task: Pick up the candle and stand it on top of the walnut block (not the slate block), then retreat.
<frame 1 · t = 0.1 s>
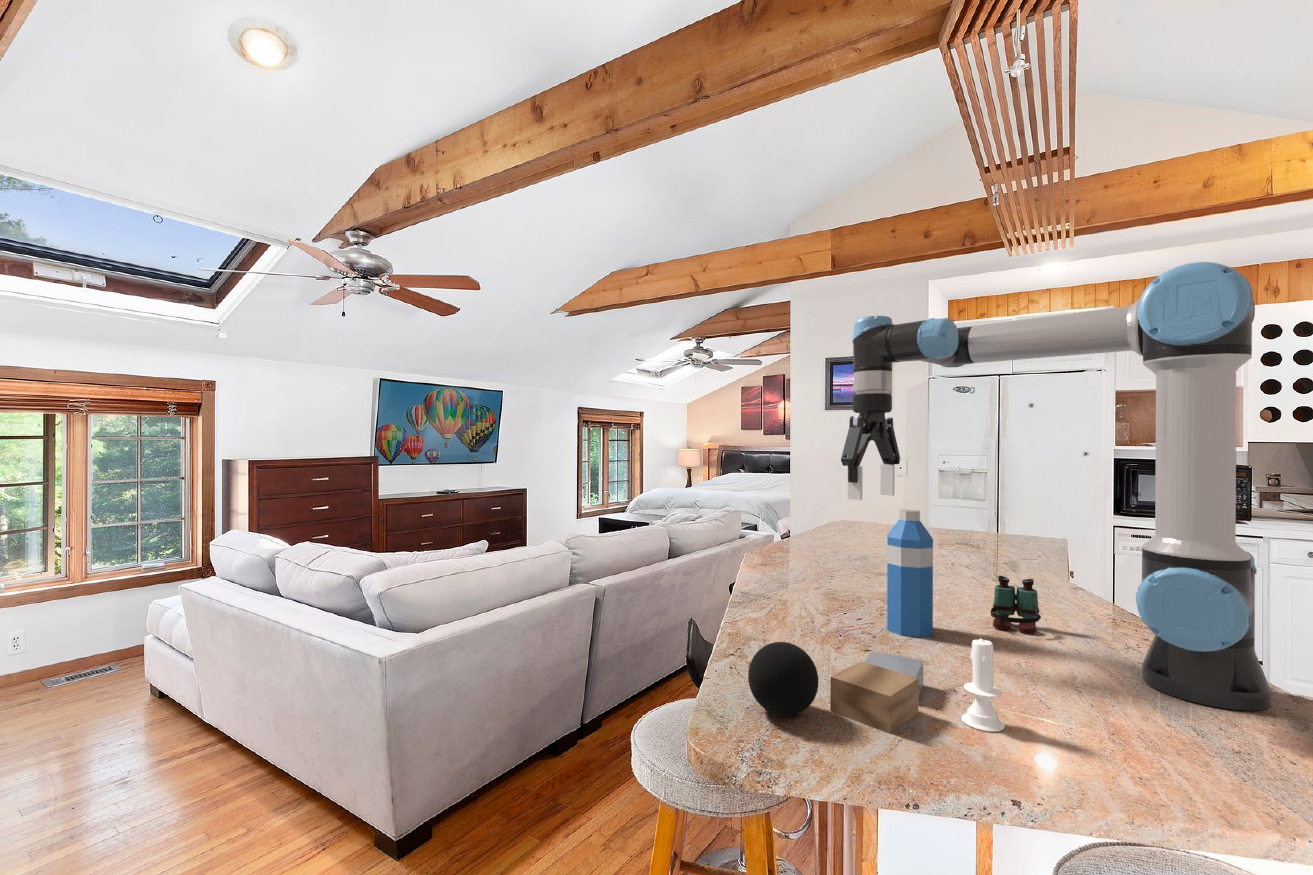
hand: (871, 497, 122), 28 cm above the countertop, fingers open, 13 cm apart
decorative ball: (782, 713, 87), on the countertop
water bottle: (909, 630, 124), on the countertop
slate block: (892, 688, 95), on the countertop
binoculars: (1015, 630, 125), on the countertop
candle: (982, 724, 84), on the countertop
walnut block: (874, 711, 87), on the countertop
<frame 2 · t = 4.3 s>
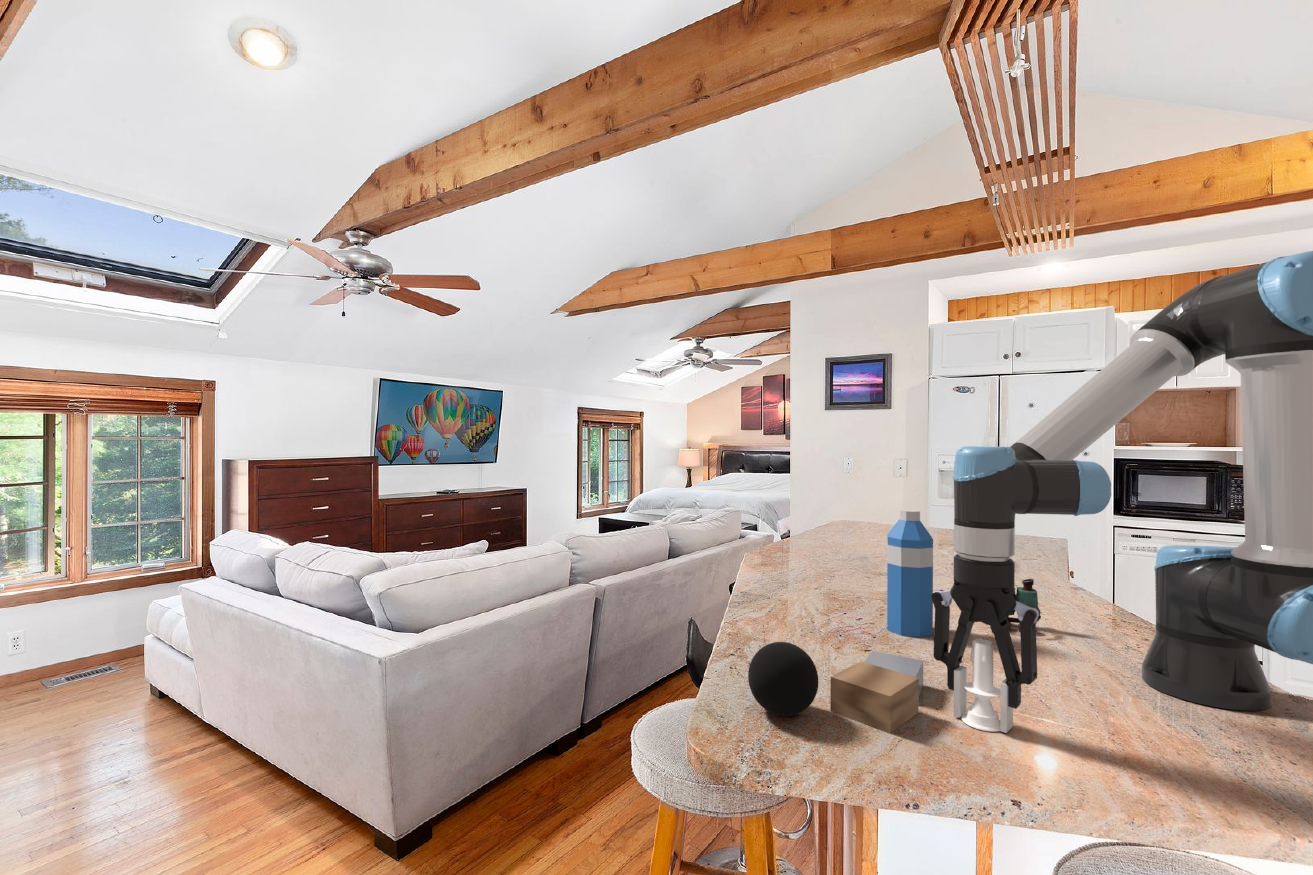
hand: (982, 720, 84), 0 cm above the countertop, fingers closed on candle, 5 cm apart
candle: (982, 724, 84), on the countertop, touching gripper
everything else where it was.
when the fingers open (6 cm above the countertop, at t = 8.4 s): candle stays where it is, resting on walnut block.
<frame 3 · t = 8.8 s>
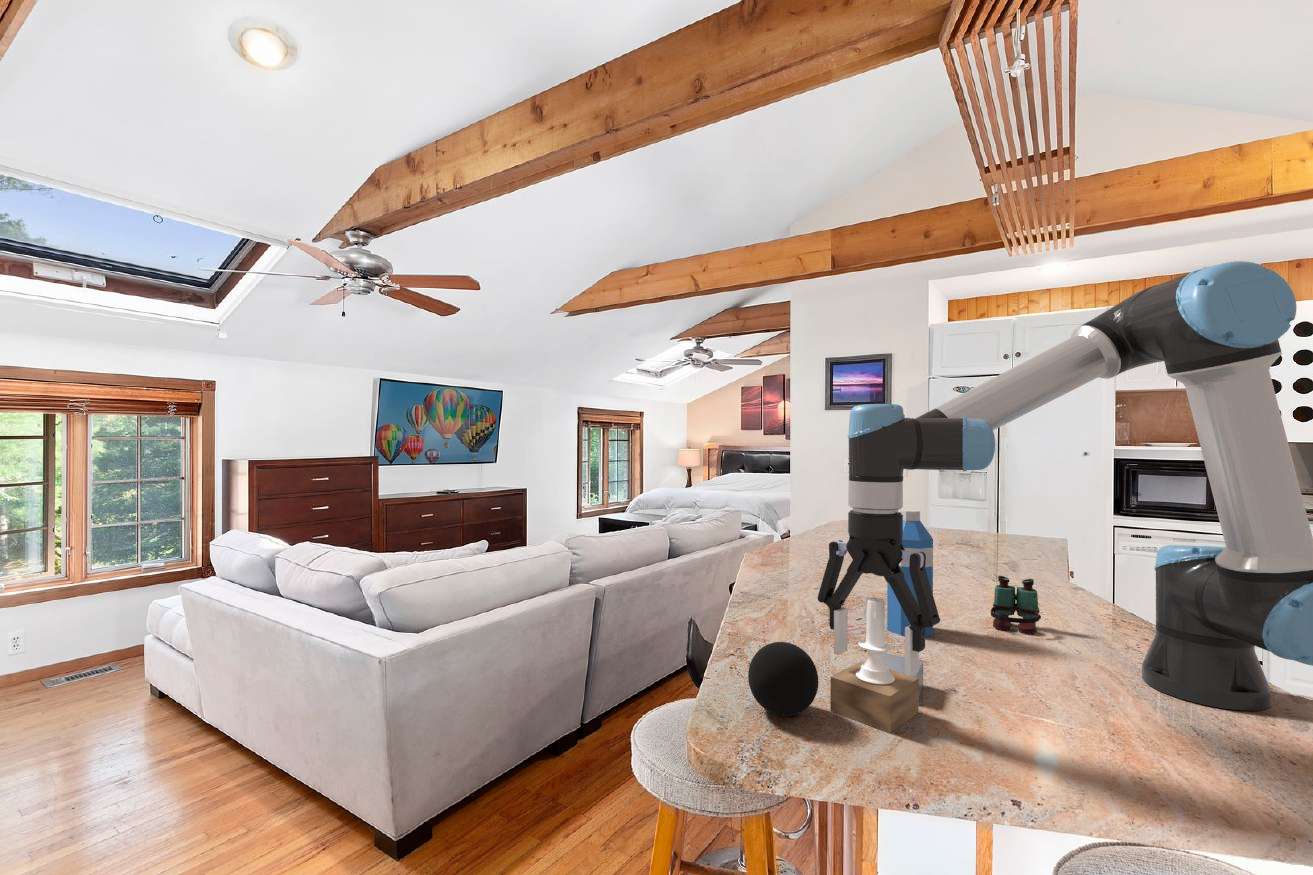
hand: (874, 661, 87), 7 cm above the countertop, fingers open, 10 cm apart
candle: (875, 678, 87), point 5 cm above the countertop, touching walnut block
everything else where it was.
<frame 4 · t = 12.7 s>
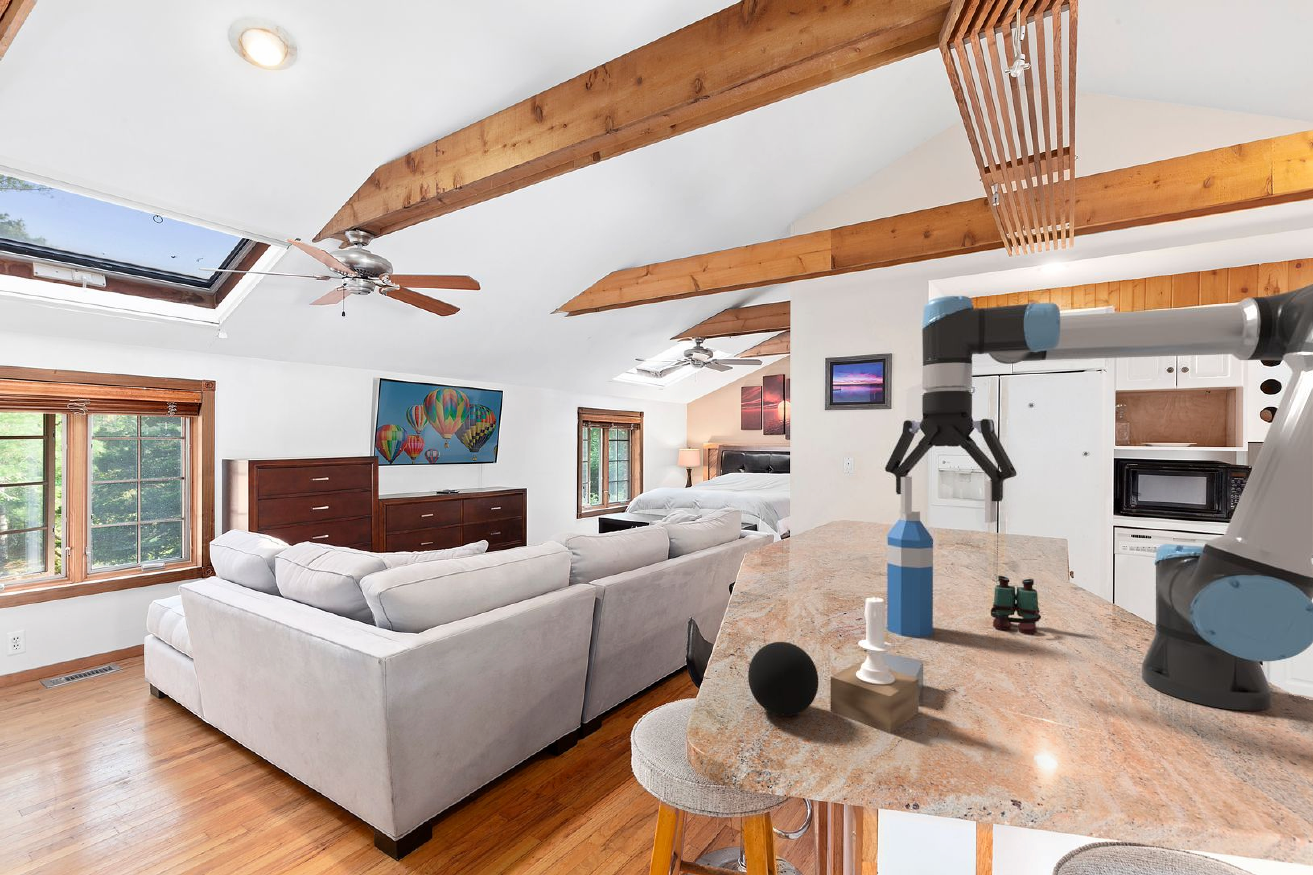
hand: (946, 517, 100), 27 cm above the countertop, fingers open, 13 cm apart
nothing on the countertop moved.
at the end: candle 0.1 cm from the walnut block (horizontally); candle point 4.8 cm above the countertop; candle tilted 0° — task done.
